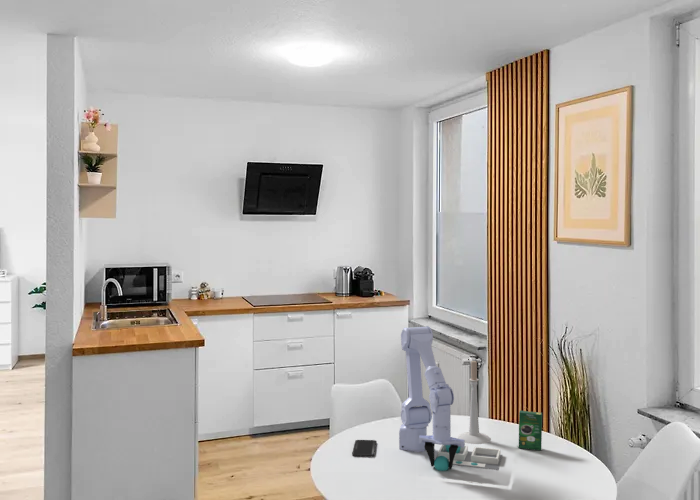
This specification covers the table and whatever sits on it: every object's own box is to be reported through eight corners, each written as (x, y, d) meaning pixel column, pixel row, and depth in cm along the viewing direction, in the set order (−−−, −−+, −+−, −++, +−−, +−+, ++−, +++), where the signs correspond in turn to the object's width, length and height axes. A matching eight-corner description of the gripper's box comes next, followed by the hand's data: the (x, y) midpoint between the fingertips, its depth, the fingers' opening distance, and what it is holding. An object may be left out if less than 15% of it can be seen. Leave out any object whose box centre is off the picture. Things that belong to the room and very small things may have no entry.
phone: (376, 440, 230) (374, 454, 215) (376, 443, 230) (374, 458, 215) (355, 439, 231) (351, 454, 216) (355, 442, 231) (351, 457, 216)
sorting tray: (433, 465, 207) (433, 456, 207) (441, 451, 220) (441, 442, 220) (498, 473, 200) (498, 463, 200) (502, 457, 213) (502, 449, 213)
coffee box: (542, 448, 222) (542, 411, 221) (542, 451, 219) (542, 414, 219) (518, 446, 224) (518, 409, 224) (518, 448, 222) (518, 412, 221)
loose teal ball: (432, 473, 200) (432, 458, 200) (435, 467, 205) (435, 452, 205) (448, 475, 199) (448, 459, 199) (450, 469, 203) (450, 454, 203)
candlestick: (496, 439, 232) (496, 358, 231) (484, 449, 221) (484, 365, 220) (464, 433, 239) (464, 355, 238) (451, 443, 228) (450, 361, 227)
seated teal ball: (444, 456, 212) (444, 442, 212) (447, 451, 217) (447, 437, 217) (459, 458, 210) (459, 443, 210) (461, 453, 215) (461, 438, 215)
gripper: (416, 426, 200) (416, 468, 200) (462, 430, 195) (462, 473, 196) (421, 420, 207) (421, 460, 207) (465, 424, 202) (465, 465, 202)
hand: (441, 466), depth 202 cm, fingers open, 5 cm apart
